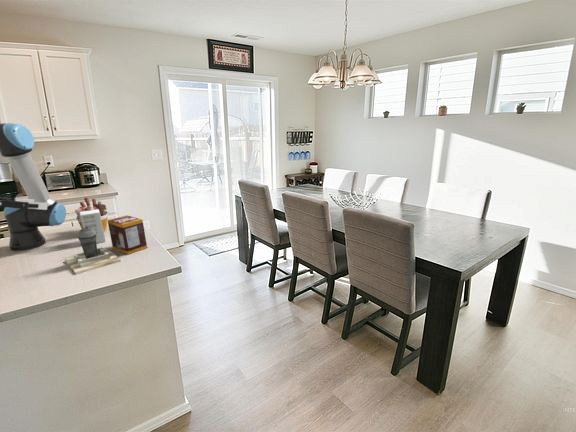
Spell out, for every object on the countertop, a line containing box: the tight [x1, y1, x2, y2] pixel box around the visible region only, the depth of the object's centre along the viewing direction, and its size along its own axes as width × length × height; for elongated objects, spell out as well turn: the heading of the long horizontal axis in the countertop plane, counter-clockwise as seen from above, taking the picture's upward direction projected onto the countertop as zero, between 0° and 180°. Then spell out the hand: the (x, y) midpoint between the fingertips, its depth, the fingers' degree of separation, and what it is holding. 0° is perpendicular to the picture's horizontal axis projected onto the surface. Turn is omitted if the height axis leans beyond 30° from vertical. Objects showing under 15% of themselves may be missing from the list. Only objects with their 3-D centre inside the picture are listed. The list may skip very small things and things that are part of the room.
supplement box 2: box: [107, 215, 148, 255], centre depth 158 cm, size 10×15×16 cm
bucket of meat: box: [74, 197, 109, 232], centre depth 186 cm, size 20×16×20 cm
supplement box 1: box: [80, 209, 107, 244], centre depth 170 cm, size 10×9×17 cm
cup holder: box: [64, 247, 121, 275], centre depth 145 cm, size 20×18×4 cm
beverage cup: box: [77, 218, 98, 259], centre depth 143 cm, size 7×7×20 cm
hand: (40, 204), depth 133 cm, fingers open, 13 cm apart
